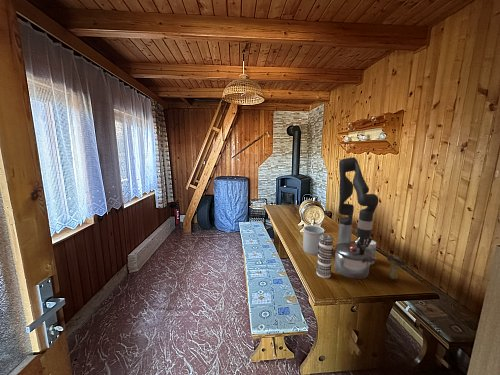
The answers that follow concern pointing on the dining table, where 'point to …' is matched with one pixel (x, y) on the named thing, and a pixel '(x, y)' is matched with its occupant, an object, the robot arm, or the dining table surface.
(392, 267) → the mushroom
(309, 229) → the utensil holder
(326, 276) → the decorative candle
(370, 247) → the supplement tub
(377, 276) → the dining table surface
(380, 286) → the dining table surface
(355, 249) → the cooker lid
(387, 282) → the dining table surface
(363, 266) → the cooker pot
